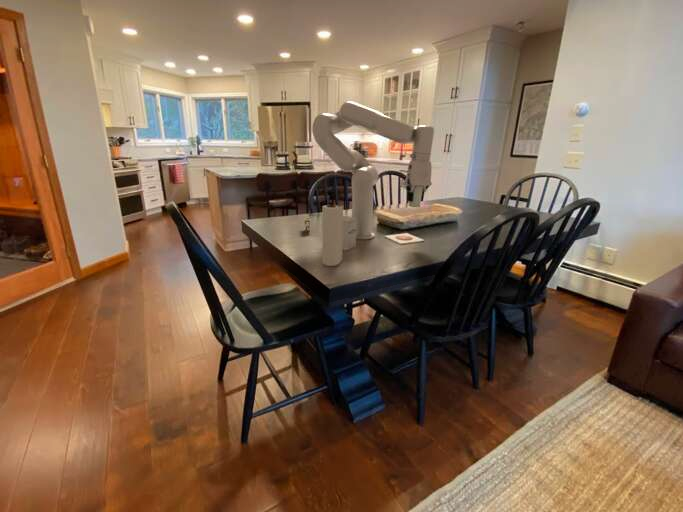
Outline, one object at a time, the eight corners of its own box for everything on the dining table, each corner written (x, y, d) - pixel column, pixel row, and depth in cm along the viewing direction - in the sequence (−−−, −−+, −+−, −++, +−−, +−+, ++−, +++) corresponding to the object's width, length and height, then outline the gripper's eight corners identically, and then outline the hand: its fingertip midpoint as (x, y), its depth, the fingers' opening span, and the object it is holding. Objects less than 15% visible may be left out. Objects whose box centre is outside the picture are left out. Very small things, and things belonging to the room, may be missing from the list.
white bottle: (347, 251, 135) (348, 221, 131) (332, 247, 139) (332, 218, 135) (356, 246, 141) (357, 217, 137) (341, 243, 145) (342, 215, 141)
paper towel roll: (322, 266, 118) (322, 207, 111) (322, 260, 124) (322, 204, 117) (342, 266, 118) (343, 207, 111) (342, 260, 124) (343, 204, 117)
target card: (400, 244, 145) (400, 243, 145) (384, 237, 156) (384, 235, 156) (424, 241, 150) (424, 239, 150) (406, 234, 161) (406, 232, 161)
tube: (413, 207, 141) (416, 183, 137) (405, 205, 145) (408, 182, 142) (422, 207, 143) (426, 183, 140) (415, 204, 147) (418, 182, 144)
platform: (318, 227, 172) (318, 215, 170) (321, 237, 155) (321, 223, 153) (295, 227, 170) (295, 215, 168) (295, 237, 154) (295, 223, 151)
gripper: (409, 157, 130) (403, 203, 137) (442, 158, 137) (436, 202, 144) (398, 156, 137) (393, 199, 143) (431, 157, 144) (425, 198, 150)
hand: (415, 200), depth 143 cm, fingers closed on tube, 5 cm apart
